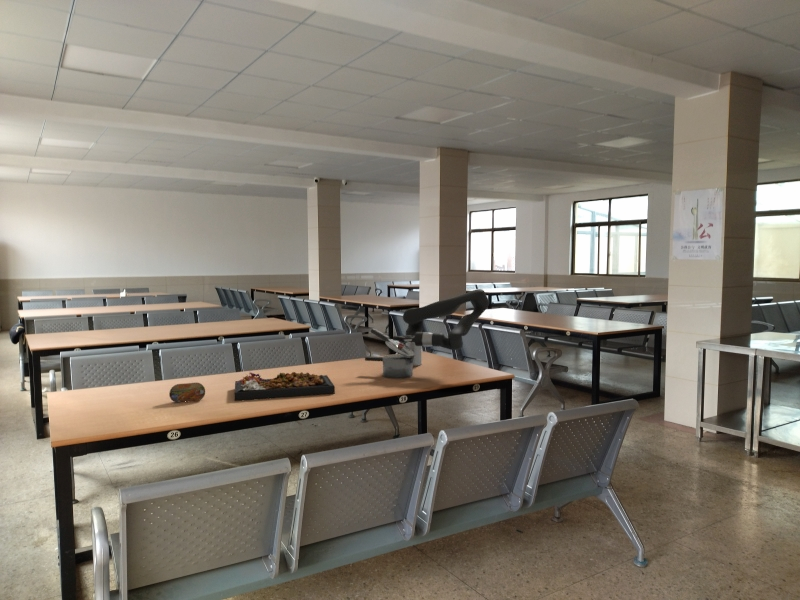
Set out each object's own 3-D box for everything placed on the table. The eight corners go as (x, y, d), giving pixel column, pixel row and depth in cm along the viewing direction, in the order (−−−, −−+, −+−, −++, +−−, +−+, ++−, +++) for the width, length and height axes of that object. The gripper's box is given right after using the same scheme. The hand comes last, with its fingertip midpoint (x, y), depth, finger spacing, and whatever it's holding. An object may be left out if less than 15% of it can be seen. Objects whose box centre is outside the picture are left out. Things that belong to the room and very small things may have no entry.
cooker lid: (417, 355, 314) (420, 350, 313) (409, 360, 298) (412, 355, 297) (375, 331, 319) (378, 325, 319) (365, 335, 304) (368, 329, 303)
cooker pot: (417, 373, 314) (417, 355, 313) (409, 379, 299) (409, 360, 298) (371, 370, 322) (370, 353, 321) (361, 376, 306) (360, 358, 306)
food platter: (234, 402, 258) (234, 379, 257) (235, 390, 281) (234, 369, 280) (334, 395, 269) (334, 373, 268) (327, 383, 293) (326, 363, 292)
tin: (169, 403, 254) (168, 385, 253) (170, 402, 257) (169, 383, 257) (205, 401, 258) (204, 382, 258) (205, 399, 261) (205, 381, 261)
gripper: (427, 330, 309) (396, 329, 314) (421, 333, 296) (389, 332, 301) (427, 344, 310) (396, 343, 315) (421, 348, 297) (389, 347, 302)
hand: (393, 338), depth 308 cm, fingers closed
